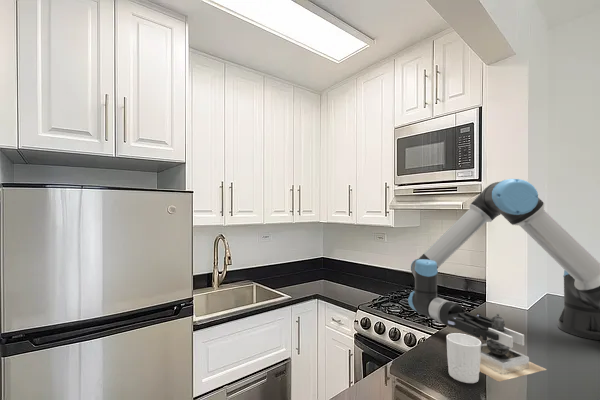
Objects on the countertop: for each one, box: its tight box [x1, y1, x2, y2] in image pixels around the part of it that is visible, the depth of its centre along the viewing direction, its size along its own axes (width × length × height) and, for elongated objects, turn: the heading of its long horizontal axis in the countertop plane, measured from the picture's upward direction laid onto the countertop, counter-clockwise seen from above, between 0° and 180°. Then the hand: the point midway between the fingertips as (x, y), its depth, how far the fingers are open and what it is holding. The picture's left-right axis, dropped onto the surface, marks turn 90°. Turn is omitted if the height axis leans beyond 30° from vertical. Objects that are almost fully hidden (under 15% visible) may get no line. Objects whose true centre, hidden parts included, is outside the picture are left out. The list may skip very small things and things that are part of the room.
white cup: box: [445, 332, 482, 384], centre depth 80 cm, size 8×8×10 cm
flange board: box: [479, 361, 547, 383], centre depth 87 cm, size 18×14×1 cm
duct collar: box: [480, 343, 530, 375], centre depth 87 cm, size 10×10×3 cm
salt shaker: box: [485, 313, 511, 360], centre depth 87 cm, size 6×6×12 cm
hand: (517, 341), depth 82 cm, fingers closed on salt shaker, 4 cm apart
